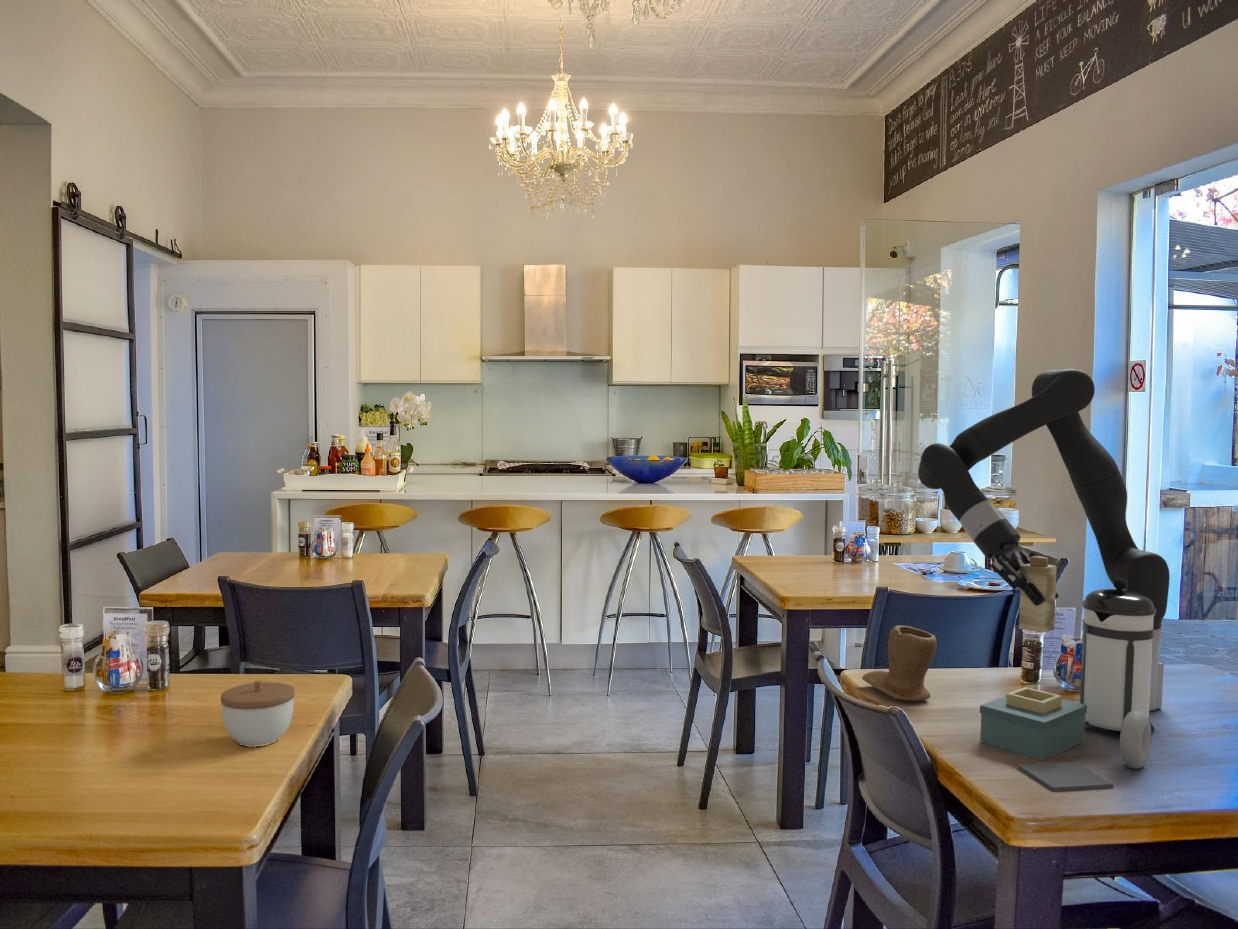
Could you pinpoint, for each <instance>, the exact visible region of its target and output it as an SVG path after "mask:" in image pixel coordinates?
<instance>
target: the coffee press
mask: <svg viewBox="0 0 1238 929" xmlns="http://www.w3.org/2000/svg"><path fill="white" fill-rule="evenodd" d="M1112 585H1113V588H1115V589H1112V588H1105V589H1097V590H1093V591H1090V592H1089V593H1088V594H1087V595H1086V596H1085V598H1084V600H1082V601H1081V606H1082V609H1083V619H1082V621H1081V631H1082V642H1081V644H1082V645H1081V662H1080V663H1081V665H1080V666H1081V667H1080V688H1079V690H1080V692H1079V703H1080V704H1084V705H1087V713H1086V714H1085V726H1087V725H1092V726H1094V727H1096V728H1097V727H1098V728H1100V729H1105V730H1109V731H1110V730H1111V731H1117V732H1118V733H1120V734H1119V735H1121V728H1122V724H1123V721H1124V718H1125V717H1126V715H1127V714H1128V713H1129V712H1132V711H1141V712H1143V713H1144V714H1145V715H1146V716H1147V717H1148V719H1149V722H1150V726H1151V734H1152V733H1154V732H1155V726H1154V725H1153V724H1152V722H1151V721H1150V711H1149V701H1150V681H1151V660H1152V639H1153V638H1154V627H1153V619H1154V615H1155V614H1156V608H1155V607H1154V606H1153V603H1152V601H1151V600H1150V599H1149V598H1148V597H1146V596H1145V595H1142V594H1140V593H1136V592H1132V591H1126V590H1122V589H1124V588H1125V587H1126V582H1125V581H1124V580H1123V579H1120V578H1119V579H1116V580H1115V581H1114V582H1113V583H1112Z"/></svg>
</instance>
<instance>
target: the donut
mask: <svg viewBox="0 0 1238 929" xmlns="http://www.w3.org/2000/svg"><path fill="white" fill-rule="evenodd" d="M1149 721H1150V718H1149V719H1148V717H1147V716H1146V715H1145V714H1144V713H1143V712H1141V711H1132V712H1129V713H1128V714H1127V715H1126V717H1125V718H1124V721H1123V724H1122V728H1121V734H1119V753H1120V757H1121V759H1122V762H1123V763H1124V764H1125V765H1126V766H1127V767H1128V768H1131V769H1133V770H1136V769H1139V768H1142V767H1143V766H1144V765H1145V764H1146V762H1147V761H1148V757H1149V754H1150V749H1151V741H1152V733H1151V726H1150V722H1151V721H1150V722H1149Z"/></svg>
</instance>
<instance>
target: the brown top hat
mask: <svg viewBox="0 0 1238 929" xmlns="http://www.w3.org/2000/svg"><path fill="white" fill-rule="evenodd" d="M888 637H889V638H888V646H887V653H888V654H887V656H888V664H889V665H888V666H889V668H888V669H889V670H888V671H886V670H885V671H884V670H874V671H869V672H867V673H864V674H863V675H862V677H861V679H862V681H865V683H867V684H869V685H870V686H871V687H874V689H877V690H879V691H880V692H882V693H883V694H886V695H887V696H890V697H892V698H894V699H897V700H901V701H907V702H914V701H915V702H918V701H925V700H927V699H930V698H931V697H932V696H931V693H930V692H929V690H928V689H927V688H926V686H925V684H924V683H925V682H924V680H925V677H926V675H927V672H928V670H929V668H930V665H931V664H932V662H933V659H934V657H935V654H936V651H937V648H938V646H937V644H938V642H937V638H936V636H935V635H934V634H932V633H930V632H928V631H925V630H922V629H919V628H915V627H913V626H907V625H900V624H899V625H895V626H894V627H893V628H892V629H891V630H890V633H889V636H888Z"/></svg>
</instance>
